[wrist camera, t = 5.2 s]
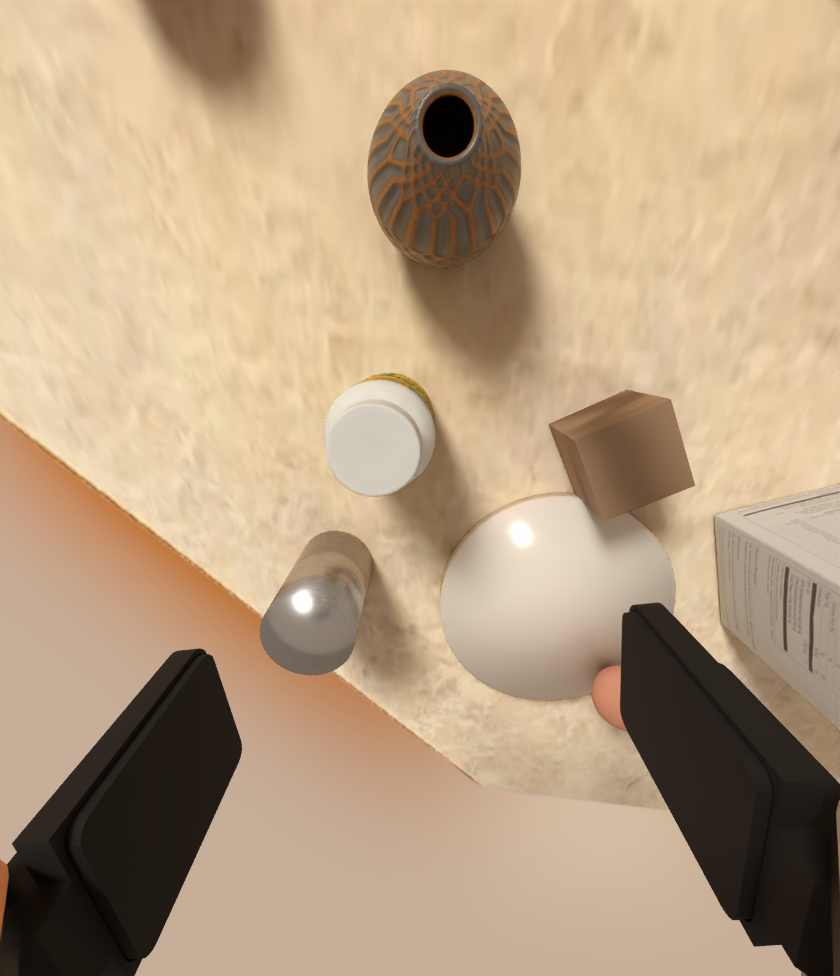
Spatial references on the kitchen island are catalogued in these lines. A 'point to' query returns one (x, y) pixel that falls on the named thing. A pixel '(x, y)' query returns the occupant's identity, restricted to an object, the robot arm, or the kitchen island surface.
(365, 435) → the supplement bottle
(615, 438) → the walnut block
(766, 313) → the kitchen island surface
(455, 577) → the white plate
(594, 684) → the rubber ball
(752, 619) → the supplement box
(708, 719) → the robot arm
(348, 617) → the steel canister
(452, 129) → the vase
